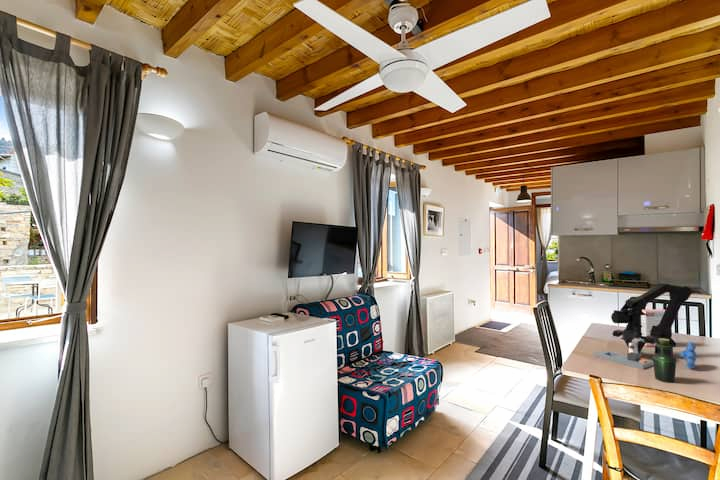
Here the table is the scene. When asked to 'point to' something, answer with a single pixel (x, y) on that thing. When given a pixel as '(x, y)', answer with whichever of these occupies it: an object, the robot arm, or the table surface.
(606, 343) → the table surface
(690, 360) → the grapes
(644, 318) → the cracker box
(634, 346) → the plug
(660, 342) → the potion bottle
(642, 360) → the gray block with hole
